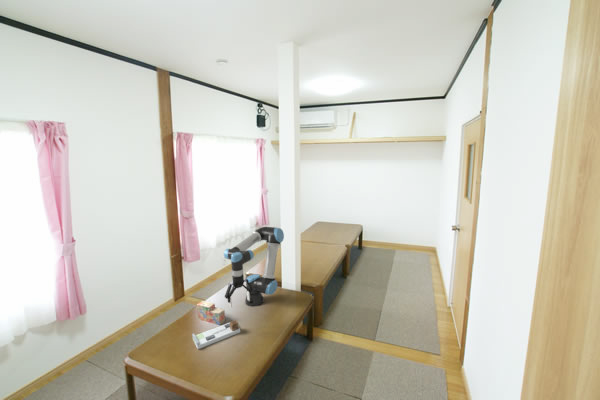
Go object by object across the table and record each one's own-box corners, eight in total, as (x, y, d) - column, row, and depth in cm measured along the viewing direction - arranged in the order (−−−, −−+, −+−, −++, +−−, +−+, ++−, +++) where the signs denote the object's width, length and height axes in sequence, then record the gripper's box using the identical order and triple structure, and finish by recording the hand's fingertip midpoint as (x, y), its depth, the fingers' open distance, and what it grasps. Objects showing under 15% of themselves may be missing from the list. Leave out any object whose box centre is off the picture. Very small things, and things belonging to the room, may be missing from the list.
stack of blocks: (225, 320, 208) (224, 305, 206) (219, 325, 203) (218, 309, 201) (203, 314, 217) (202, 300, 215) (197, 319, 212) (196, 304, 210)
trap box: (233, 324, 204) (233, 318, 203) (240, 332, 194) (239, 326, 193) (192, 339, 187) (192, 333, 187) (197, 349, 177) (197, 343, 177)
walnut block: (236, 325, 197) (235, 319, 197) (238, 328, 194) (238, 322, 193) (229, 328, 195) (229, 322, 194) (232, 331, 191) (231, 325, 190)
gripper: (251, 268, 203) (253, 295, 206) (218, 277, 189) (220, 306, 192) (256, 271, 197) (258, 299, 200) (222, 281, 182) (224, 311, 186)
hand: (239, 303), depth 196 cm, fingers open, 13 cm apart
